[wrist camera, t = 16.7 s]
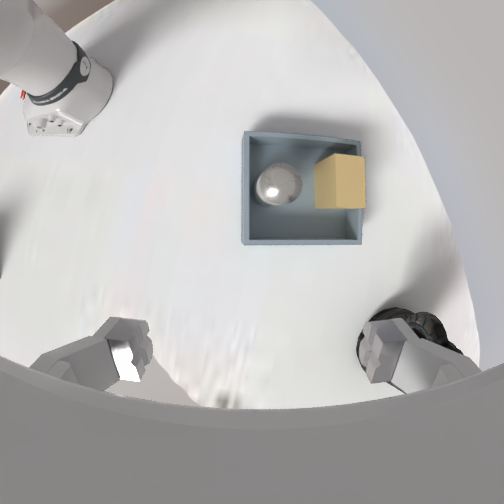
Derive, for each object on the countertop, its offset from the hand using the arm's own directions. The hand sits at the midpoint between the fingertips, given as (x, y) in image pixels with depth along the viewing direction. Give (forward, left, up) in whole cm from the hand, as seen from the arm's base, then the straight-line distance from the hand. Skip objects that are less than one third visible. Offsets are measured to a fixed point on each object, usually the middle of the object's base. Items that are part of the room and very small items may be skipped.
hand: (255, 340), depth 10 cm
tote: (+12, +9, -40) cm, 42 cm away
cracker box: (+17, +10, -39) cm, 44 cm away
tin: (+6, +9, -39) cm, 40 cm away
